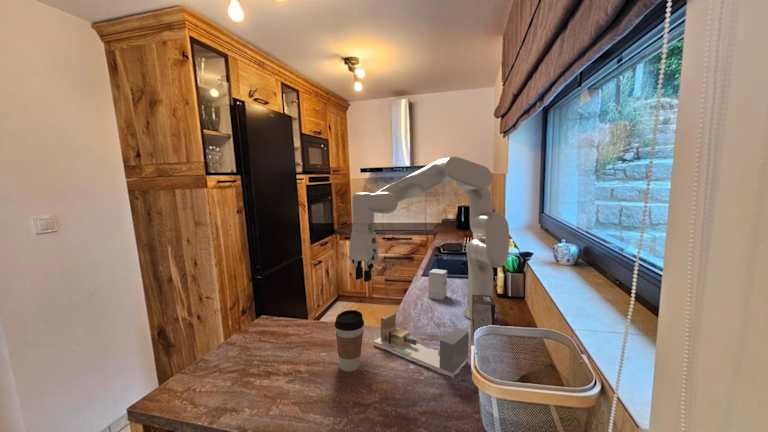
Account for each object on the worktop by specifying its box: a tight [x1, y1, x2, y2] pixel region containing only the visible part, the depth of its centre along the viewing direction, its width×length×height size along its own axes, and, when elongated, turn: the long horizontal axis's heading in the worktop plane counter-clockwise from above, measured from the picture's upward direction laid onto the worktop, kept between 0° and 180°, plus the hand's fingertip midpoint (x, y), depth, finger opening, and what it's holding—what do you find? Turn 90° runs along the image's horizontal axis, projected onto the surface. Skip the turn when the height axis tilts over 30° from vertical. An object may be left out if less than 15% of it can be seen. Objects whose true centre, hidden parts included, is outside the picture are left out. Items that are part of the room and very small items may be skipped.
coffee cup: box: [334, 309, 365, 372], centre depth 87 cm, size 8×8×15 cm
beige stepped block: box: [380, 312, 417, 346], centre depth 97 cm, size 12×8×7 cm, turn 51°
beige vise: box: [373, 327, 470, 376], centre depth 94 cm, size 28×10×10 cm, turn 51°
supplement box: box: [427, 268, 448, 301], centre depth 144 cm, size 7×7×13 cm
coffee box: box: [470, 295, 496, 343], centre depth 97 cm, size 9×6×16 cm
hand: (363, 279), depth 107 cm, fingers open, 3 cm apart
